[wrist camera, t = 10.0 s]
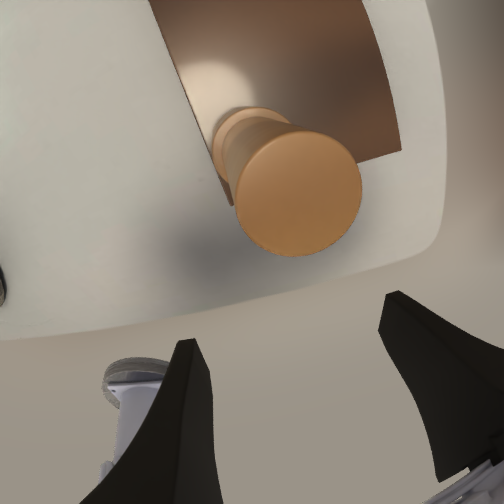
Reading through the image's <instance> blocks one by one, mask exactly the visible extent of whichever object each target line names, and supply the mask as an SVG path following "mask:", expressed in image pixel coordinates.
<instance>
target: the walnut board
mask: <svg viewBox="0 0 504 504" xmlns="http://www.w3.org/2000/svg"><path fill="white" fill-rule="evenodd" d="M149 3H150V6H151V8H152V11H153V13H154V16H155V18H156V21H157V23H158V26H159V28H160V31H161V33H162V36H163V38H164V41H165V43H166V46H167V49H168V51H169V54H170V56H171V59H172V61H173V64H174V66H175V69H176V71H177V74H178V76H179V79H180V81H181V84H182V86H183V89H184V91H185V94H186V96H187V99H188V101H189V104H190V106H191V109H192V111H193V114H194V116H195V119H196V121H197V124H198V126H199V129H200V131H201V134H202V136H203V139H204V141H205V144H206V146H207V149H208V151H209V154H210V156H211V159H212V161H213V158H212V145H211V139H212V133H213V130H214V127H215V125H216V124H217V122H218V121H219V120H220V118H221V117H222V116H223V115H225V114H226V113H227V112H229V111H231V110H233V109H236V108H239V107H246V106H250V107H264V108H269V109H272V110H274V111H276V112H278V113H280V114H282V115H283V116H284V117H285V118H287V119H288V120H289V122H290V123H291V124H293V125H296V126H300V127H303V128H306V129H310V130H313V131H316V132H320V133H323V134H325V135H328V136H330V137H332V138H333V139H335V140H337V141H338V142H339V143H341V144H342V145H343V146H344V147H345V148H346V149H347V150H348V151H349V152H350V154H351V155H352V157H353V158H354V160H355V162H356V164H357V163H360V162H363V161H366V160H370V159H373V158H377V157H380V156H383V155H387V154H390V153H394V152H398V151H401V150H402V148H401V141H400V135H399V129H398V123H397V118H396V113H395V108H394V103H393V99H392V94H391V90H390V86H389V82H388V78H387V74H386V70H385V67H384V63H383V60H382V56H381V53H380V50H379V46H378V43H377V40H376V37H375V34H374V31H373V29H372V26H371V23H370V20H369V18H368V15H367V13H366V10H365V8H364V5H363V3H362V0H149ZM213 164H214V162H213ZM214 166H215V165H214ZM215 169H216V167H215ZM216 171H217V169H216ZM217 174H218V176H219V179H220V181H221V184H222V186H223V189H224V191H225V194H226V196H227V199H228V201H229V204H230V206H233V205H234V202H233V198H232V194H231V190H230V186H229V183H228V182H226V181H225V180H224V179H223V178H222V177H221V175H220V174H219V173H218V171H217Z"/></svg>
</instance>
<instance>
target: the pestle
mask: <svg viewBox="0 0 504 504" xmlns="http://www.w3.org/2000/svg"><path fill="white" fill-rule="evenodd" d="M211 145H212V158H213V162H214V165H215V167H216V169H217V171H218V173H219V174H220V175H221V177H222V178H223V179H224V180H225V181H226V182H228V183H229V186H230V190H231V194H232V198H233V202H234V206H235V210H236V214H237V218H238V220H239V223H240V225H241V227H242V229H243V230H244V232H245V233H246V234H247V236H248V237H249V238H250V239H251V240H252V241H253V242H254V243H255V244H257V245H258V246H260V247H261V248H263V249H265V250H267V251H269V252H271V253H274V254H277V255H282V256H290V257H297V256H306V255H310V254H314V253H316V252H319V251H321V250H323V249H325V248H327V247H329V246H330V245H332V244H333V243H335V242H336V241H337V240H338V239H339V238H341V237H342V236H343V235H344V233H345V232H346V231H347V230H348V229H349V227H350V226H351V224H352V223H353V221H354V219H355V217H356V215H357V213H358V210H359V207H360V203H361V198H362V181H361V175H360V172H359V169H358V166H357V164H356V162H355V160H354V158H353V157H352V155H351V154H350V152H349V151H348V150H347V149H346V148H345V147H344V146H343V145H342V144H341V143H339V142H338V141H337V140H335V139H333V138H332V137H330V136H328V135H325V134H323V133H320V132H316V131H313V130H310V129H306V128H303V127H300V126H296V125H293V124H291V123H290V122H289V120H288V119H287V118H285V117H284V116H283V115H282V114H280V113H278V112H276V111H274V110H272V109H269V108H264V107H250V106H246V107H239V108H236V109H233V110H231V111H229V112H227V113H226V114H225V115H223V116H222V117H221V118H220V120H219V121H218V122H217V124H216V125H215V127H214V130H213V133H212V139H211Z"/></svg>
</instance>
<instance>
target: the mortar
mask: <svg viewBox="0 0 504 504" xmlns="http://www.w3.org/2000/svg"><path fill="white" fill-rule="evenodd" d="M3 302H4V288H3V285H2V281H1V278H0V307H1V305H2V304H3Z"/></svg>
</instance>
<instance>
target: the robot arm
mask: <svg viewBox="0 0 504 504" xmlns="http://www.w3.org/2000/svg"><path fill="white" fill-rule="evenodd" d="M378 332H379V334H380V336H381V338H382V341H383V344H384V346H385V348H386V350H387V352H388V354H389V356H390V357H391V359H392V360H393V362H394V364H395V366H396V368H397V369H398V371H399V373H400V374H401V376H402V378H403V379H404V381H405V383H406V385H407V386H408V388H409V390H410V392H411V393H412V396H413V398H414V400H415V402H416V404H417V407H418V409H419V412H420V414H421V417H422V420H423V423H424V426H425V429H426V432H427V435H428V439H429V443H430V446H431V450H432V455H433V460H434V466H435V473H436V477H437V479H438V482H439V483H440V482H442V481H444V480H446V479H448V478H450V477H451V476H453V475H455V474H457V473H459V472H460V471H462V470H464V469H465V468H466V467H468V468H469V470H470V472H469V473H468V474H467V475H465V476H464V477H462V478H461V479H460V480H458V481H457V482H455V483H454V484H452V485H451V486H449V487H448V488H446V489H444V490H443V491H441V492H440V493H438V494H436V495H435V496H433V497H431V498H430V499H428V500H426V501H424V502H422V503H421V504H504V349H502V348H499V347H496V346H494V345H491V344H489V343H487V342H485V341H483V340H481V339H478V338H476V337H474V336H472V335H470V334H468V333H467V332H465V331H463V330H461V329H460V328H458V327H456V326H454V325H453V324H451V323H450V322H448V321H446V320H445V319H443V318H441V317H440V316H438V315H436V314H435V313H434V312H432V311H430V310H429V309H427V308H426V307H424V306H423V305H421V304H420V303H418V302H417V301H415V300H413V299H412V298H410V297H409V296H407V295H405V294H404V293H402V292H401V291H399V290H398V291H395V292H392V293H389V294H386V296H385V301H384V306H383V311H382V315H381V320H380V324H379V329H378ZM107 388H108V389H109V390H110V391H111V392H112V393H113V395H114V396H115V397H116V398H117V399H118V400H119V401H120V409H119V416H118V424H117V432H116V441H115V451H114V459H113V461H112V462H110V461H106V462H105V463H103V464H101V467H100V473H99V484H98V486H97V487H96V488H95V489H94V490H93V491H92V492H91V493H89V494H88V496H86V497H85V498H84V499H83V500H82V501H81V502H80V503H79V504H223V499H222V495H221V490H220V485H219V480H218V474H217V468H216V462H215V454H214V435H213V394H212V386H211V379H210V371H209V369H208V367H207V364H206V362H205V360H204V358H203V355H202V353H201V351H200V349H199V346H198V344H197V341H196V339H195V338H193V339H187V340H180V341H178V343H177V344H176V347H175V350H174V353H173V355H172V358H171V361H170V363H169V366H168V368H167V371H166V373H165V376H164V378H163V380H161V381H149V382H134V383H114V384H108V387H107ZM461 496H462V498H461V499H459V500H457V501H455V500H456V499H458V498H459V497H461ZM453 501H454V502H453Z"/></svg>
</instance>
